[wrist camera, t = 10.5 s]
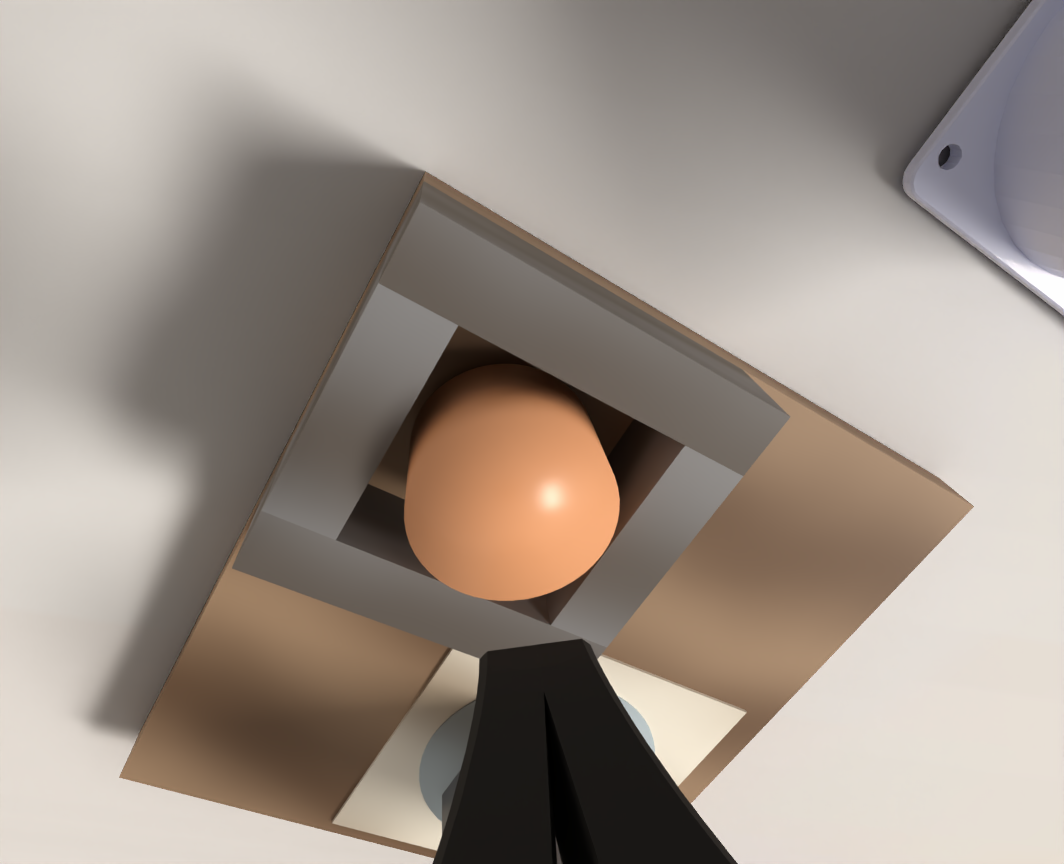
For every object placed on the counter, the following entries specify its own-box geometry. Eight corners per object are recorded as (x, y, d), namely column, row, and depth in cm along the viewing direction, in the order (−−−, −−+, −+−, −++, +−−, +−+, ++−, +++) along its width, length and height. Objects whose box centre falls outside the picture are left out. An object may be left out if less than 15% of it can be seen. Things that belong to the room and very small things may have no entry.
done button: (466, 330, 14) (471, 379, 12) (628, 415, 15) (660, 475, 13) (377, 483, 16) (366, 555, 13) (533, 551, 17) (548, 626, 14)
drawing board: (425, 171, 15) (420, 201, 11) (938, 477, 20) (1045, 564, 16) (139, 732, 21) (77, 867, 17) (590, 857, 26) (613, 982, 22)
